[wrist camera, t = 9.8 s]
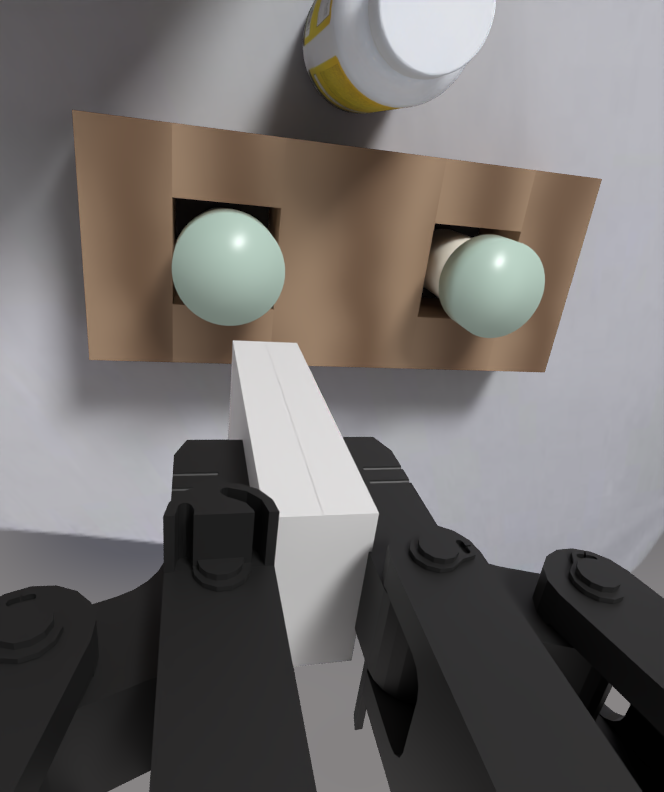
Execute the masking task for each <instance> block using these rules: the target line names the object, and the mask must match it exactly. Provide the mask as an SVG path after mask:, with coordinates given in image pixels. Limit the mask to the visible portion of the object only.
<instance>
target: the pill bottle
mask: <svg viewBox="0 0 664 792" xmlns="http://www.w3.org/2000/svg"><path fill="white" fill-rule="evenodd" d="M495 7H496V0H315V1H314V3H313V5H312V7H311V9H310V11H309V14H308V16H307V19H306V23H305V27H304V33H303V55H304V61H305V65H306V68H307V72H308V74H309V77H310V79H311V81H312V83H313V84H314V86H315V88H316V89H317V91H318V92H319V93H320V94H321V95H322V96H323V97H324V98H325V99H326V100H327V101H328V102H329V103H330V104H332V105H333V106H335V107H337V108H339V109H341V110H343V111H347V112H351V113H372V112H379V111H386V110H393V109H399V108H407V107H413V106H417V105H420V104H423V103H426V102H428V101H430V100H432V99H434V98H436V97H437V96H439V95H440V94H441V93H443V92H444V91H445V90H446V89H447V88H448V87H450V86H451V85H452V84H453V83H454V81H455V80H456V79H457V78H458V76H459V75H460V74H461V72H462V70H463V69H464V67H465V65H466V64H467V63H468V62H469V61H470V60H471V59H472V58H473V57H474V56H475V55H476V54H477V53H478V51H479V50H480V49H481V47H482V45H483V44H484V42H485V40H486V38H487V36H488V34H489V31H490V29H491V26H492V22H493V19H494V13H495Z"/></svg>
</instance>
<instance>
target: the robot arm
mask: <svg viewBox="0 0 664 792" xmlns="http://www.w3.org/2000/svg"><path fill="white" fill-rule="evenodd" d="M163 532H164V563H163V565H162V566H161V568H160V569H159V571H158V572H157V573H156V574H155V575H154V576H153V577H152V578H151V579H150V580H148V581H147V582H145V583H144V584H142V585H141V586H139V587H138V588H136V589H134V590H132V591H130V592H127V593H125V594H122V595H120V596H117V597H114V598H111V599H108V600H105V601H102V602H98V603H95V604H91V602H90V601H88V600H87V599H86V598H85V597H84V596H82V595H81V594H80V593H79V592H78V591H75V590H71V589H67V588H64V587H60V586H32V587H28V588H24V589H21V590H17V591H14V592H10V593H7V594H4V595H2V596H0V792H108V791H110V790H112V789H114V788H116V787H118V786H119V785H122V784H124V783H126V782H128V781H130V780H132V779H134V778H136V777H138V776H140V775H142V774H144V773H146V772H148V771H150V770H151V775H150V790H149V792H317V791H316V786H315V780H314V775H313V770H312V764H311V759H310V754H309V748H308V743H307V738H306V732H305V727H304V722H303V716H302V712H301V706H300V700H299V695H298V690H297V684H296V679H295V673H294V668H293V667H297V666H306V665H314V664H323V663H333V662H342V661H350V660H351V659H352V654H353V649H354V643H355V638H356V634H357V637H358V640H359V643H360V646H361V649H362V652H363V655H364V658H365V662H364V667H363V671H362V676H361V681H360V686H359V691H358V696H357V702H356V706H355V711H354V723H355V724H354V726H355V730H358V729H362V727H363V722H364V718H365V712H366V709H367V713H368V716H369V719H370V723H371V726H372V730H373V733H374V736H375V740H376V743H377V747H378V750H379V753H380V757H381V760H382V763H383V767H384V770H385V774H386V777H387V781H388V784H389V787H390V791H391V792H664V598H662V597H661V596H660V595H658V594H657V593H656V592H655V591H653V590H652V589H651V588H649V587H648V586H647V585H645V584H644V583H643V582H641V581H640V580H639V579H638V578H636V577H635V576H634V575H632V574H631V573H630V572H629V571H627V570H626V569H624V568H622V567H621V566H619V565H618V564H616V563H614V562H613V561H611V560H610V559H607V558H605V557H602V556H600V555H597V554H595V553H592V552H589V551H583V550H577V549H562V550H556V551H554V552H553V553H551V554H549V555H548V556H546V559H545V562H544V565H543V568H542V571H541V573H540V574H538V573H532V572H527V571H521V570H516V569H510V568H504V567H499V566H495V565H491V564H488V562H487V561H486V559H485V558H484V556H483V555H482V553H481V552H480V551H479V550H478V549H477V548H476V547H475V546H474V545H473V544H472V542H471V541H470V540H468V539H466V538H465V537H463V536H461V535H460V534H458V533H456V532H455V531H452V530H449V529H446V528H443V527H440V526H437V524H436V522H435V521H434V519H433V517H432V516H431V514H430V513H429V511H428V509H427V508H426V506H425V504H424V503H423V501H422V500H421V498H420V496H419V495H418V493H417V491H416V490H415V488H414V487H413V485H412V483H409V478H408V477H407V475H406V474H405V472H404V470H403V469H401V465H400V464H399V462H398V461H397V459H396V457H395V456H394V454H393V452H392V451H391V450H390V449H389V448H387V447H386V446H385V445H383V444H382V443H380V442H379V441H378V440H376V439H375V438H374V437H342V435H341V433H340V431H339V429H338V427H337V425H336V423H335V421H334V419H333V417H332V415H331V413H330V410H329V408H328V406H327V404H326V402H325V400H324V398H323V396H322V394H321V392H320V390H319V388H318V386H317V383H316V381H315V379H314V377H313V375H312V373H311V371H310V369H309V367H308V365H307V363H306V361H305V359H304V357H303V354H302V352H301V350H300V348H299V346H298V344H297V343H286V342H261V341H235V340H233V346H232V368H231V389H230V410H229V432H228V440H187V441H186V442H185V443H184V444H183V445H182V446H181V448H180V449H179V450H178V451H177V452H176V453H175V455H174V464H173V480H172V496H171V501H170V502H169V504H168V506H167V509H166V511H165V513H164V516H163ZM612 686H613V687H614V688H615V689H616V690H617V691H618V692H619V693H620V694H622V696H623V697H624V698H625V699H626V700H627V701H628V702H629V703H630V704H631V705H630V707H629V709H628V711H627V713H626V715H625V716H622V715H620V714H617V713H615V712H613V711H612V710H611V709H610V708H608V707H607V706H606V705H605V704H604V702H605V700H606V698H607V696H608V694H609V692H610V690H611V688H612Z"/></svg>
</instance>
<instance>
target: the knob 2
mask: <svg viewBox="0 0 664 792" xmlns="http://www.w3.org/2000/svg"><path fill="white" fill-rule="evenodd" d="M544 286H545V274H544V268H543V265H542V262H541V260H540V258H539V257H538V255H537V254H536V253H535V252H534V251H533V250H532V249H531V248H530V247H529V246H527V245H525V244H523V243H520V242H517V241H514V240H511V239H508V238H505V237H502V236H499V235H494V234H486V235H480V236H476V237H474V238H472V237H469V236H467V235H464V234H461V233H459V232H456V231H453V230H450V229H437V230H434V231H433V236H432V242H431V247H430V253H429V258H428V263H427V269H426V274H425V280H424V285H423V287H424V288H426V289H427V290H429V291H430V292H432V293H433V294H435V295H436V296H438V297H439V298H440V302H441V305H442V307H443V309H444V311H445V312H446V314H447V315H448V316H449V317H450V318H451V319H452V320H454V321H455V322H456V323H458V324H459V325H461V326H462V327H463V328H465V329H466V330H467V331H469V332H470V333H472V334H474V335H476V336H479V337H483V338H497V337H502V336H505V335H508V334H510V333H512V332H514V331H516V330H517V329H519V328H520V327H521V326H523V325H524V324H525V323H526V322H527V321H528V320H529V319H530V318H531V316H532V315H533V314H534V312H535V311H536V309H537V307H538V305H539V303H540V301H541V298H542V295H543V292H544Z"/></svg>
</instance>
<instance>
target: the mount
mask: <svg viewBox="0 0 664 792" xmlns="http://www.w3.org/2000/svg"><path fill="white" fill-rule="evenodd" d="M72 117H73V131H74V146H75V160H76V175H77V189H78V203H79V218H80V232H81V246H82V261H83V275H84V290H85V304H86V318H87V333H88V347H89V360H112V361H149V362H185V363H222V364H232V346H233V340H235V341H261V342H286V343H297V344H298V346H299V348H300V350H301V352H302V354H303V357H304V359H305V361H306V363H307V365H308V366H333V367H370V368H407V369H444V370H481V371H518V372H545V369H546V366H547V363H548V359H549V356H550V353H551V349H552V346H553V342H554V339H555V336H556V332H557V329H558V326H559V322H560V319H561V315H562V312H563V309H564V305H565V302H566V299H567V295H568V292H569V288H570V285H571V282H572V278H573V275H574V272H575V268H576V265H577V261H578V258H579V255H580V251H581V248H582V245H583V241H584V238H585V234H586V231H587V228H588V224H589V221H590V218H591V214H592V211H593V207H594V204H595V201H596V197H597V194H598V191H599V187H600V184H601V180H602V179H598V178H590V177H582V176H575V175H567V174H559V173H552V172H544V171H536V170H529V169H521V168H513V167H506V166H498V165H490V164H483V163H475V162H468V161H460V160H452V159H445V158H437V157H429V156H422V155H414V154H406V153H399V152H391V151H383V150H376V149H368V148H360V147H353V146H345V145H337V144H330V143H322V142H315V141H307V140H299V139H292V138H284V137H276V136H269V135H261V134H253V133H246V132H238V131H230V130H223V129H215V128H207V127H200V126H192V125H185V124H177V123H169V122H162V121H154V120H146V119H139V118H131V117H123V116H116V115H108V114H100V113H93V112H85V111H77V110H72ZM176 198H184V199H194V200H204V201H215V202H225V203H235V204H245V205H255V206H265V207H269V217H268V231H269V232H270V233H271V235H272V236H273V237H274V239H275V240H276V242H277V244H278V245H279V247H280V249H281V252H282V255H283V259H284V263H285V280H284V285H283V288H282V291H281V293H280V296H279V298H278V299H277V301H276V303H275V304H274V305H273V306H272V308H271V309H270V310H269V311H268V312H267V313H265V314H264V315H263V316H261V317H260V318H258V319H256V320H254V321H252V322H249V323H246V324H242V325H236V326H225V325H218V324H214V323H211V322H208V321H206V320H204V319H202V318H200V317H199V316H197V315H196V314H194V313H193V312H192V311H191V310H190V309H189V308H188V307H187V306H186V305H185V304H184V303H183V301H182V300H181V298H180V297H179V295H178V293H177V291H176V288H175V285H174V282H173V277H172V259H173V254H174V249H175V245H176ZM435 223H438V224H448V225H458V226H468V227H479V233H478V236H480V235H486V234H494V235H499V236H502V237H505V238H508V239H511V240H514V241H517V242H520V243H523V244H525V245H527V246H529V247H530V248H531V249H532V250H533V251H534V252H535V253H536V254H537V255H538V257H539V258H540V260H541V262H542V265H543V268H544V274H545V286H544V292H543V295H542V298H541V301H540V303H539V305H538V307H537V309H536V311H535V312H534V314H533V315H532V316H531V318H530V319H529V320H528V321H527V322H526V323H525V324H524V325H523V326H521V327H520V328H519V329H517V330H516V331H514V332H512V333H510V334H508V335H505V336H502V337H497V338H483V337H479V336H476V335H474V334H472V333H470V332H469V331H467V330H466V329H465V328H463V327H462V326H461V325H459V324H458V323H456V322H455V321H454V320H452V319H451V318H450V317H449V316H448V315H447V314H446V312H445V311H444V309H443V307H442V305H441V302H440V298H428V297H421V296H422V290H423V285H424V280H425V274H426V269H427V263H428V258H429V253H430V247H431V242H432V236H433V231H434V226H435Z"/></svg>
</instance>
